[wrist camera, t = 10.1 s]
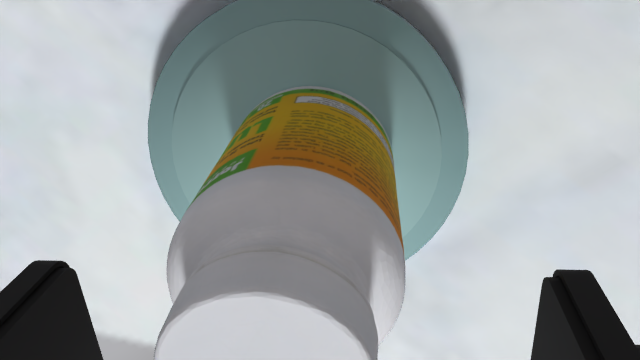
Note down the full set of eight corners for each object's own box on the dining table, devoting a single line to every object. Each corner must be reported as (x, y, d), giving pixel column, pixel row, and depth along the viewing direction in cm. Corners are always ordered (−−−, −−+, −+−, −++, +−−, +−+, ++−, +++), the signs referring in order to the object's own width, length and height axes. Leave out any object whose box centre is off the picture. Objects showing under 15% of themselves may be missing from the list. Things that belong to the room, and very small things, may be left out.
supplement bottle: (270, 53, 16) (161, 197, 8) (422, 126, 17) (482, 336, 8) (213, 190, 19) (79, 421, 10) (349, 250, 19) (334, 517, 11)
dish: (474, -25, 16) (482, -21, 15) (455, 271, 21) (459, 290, 20) (128, -6, 17) (113, -2, 16) (185, 272, 22) (176, 290, 21)
